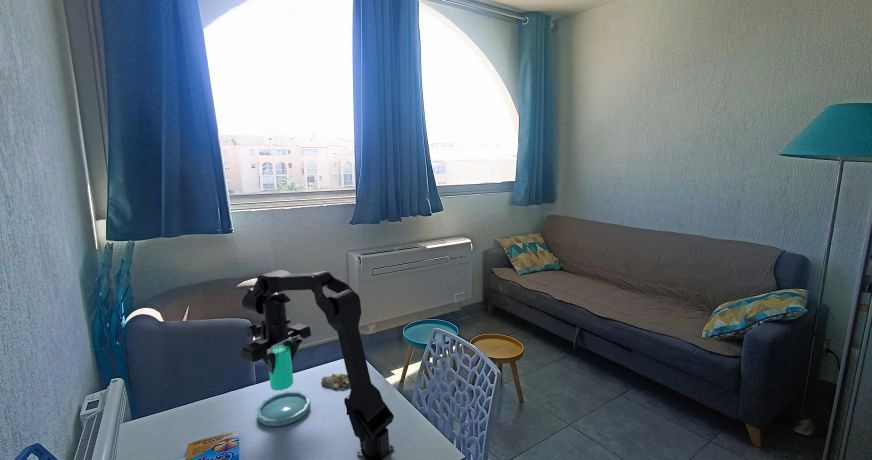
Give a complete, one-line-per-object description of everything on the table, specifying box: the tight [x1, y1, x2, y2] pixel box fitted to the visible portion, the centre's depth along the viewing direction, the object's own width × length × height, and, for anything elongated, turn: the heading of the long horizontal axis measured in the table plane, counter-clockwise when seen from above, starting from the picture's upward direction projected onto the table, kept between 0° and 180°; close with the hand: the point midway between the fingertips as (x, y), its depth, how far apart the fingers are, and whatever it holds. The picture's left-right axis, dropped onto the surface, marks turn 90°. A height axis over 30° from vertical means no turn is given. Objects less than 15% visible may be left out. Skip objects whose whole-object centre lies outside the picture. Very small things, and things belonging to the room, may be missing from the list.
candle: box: [268, 344, 294, 391], centre depth 110 cm, size 6×6×12 cm
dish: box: [256, 390, 311, 427], centre depth 113 cm, size 14×14×2 cm
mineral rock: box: [320, 373, 350, 391], centre depth 127 cm, size 11×4×8 cm
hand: (280, 369), depth 111 cm, fingers closed on candle, 5 cm apart
